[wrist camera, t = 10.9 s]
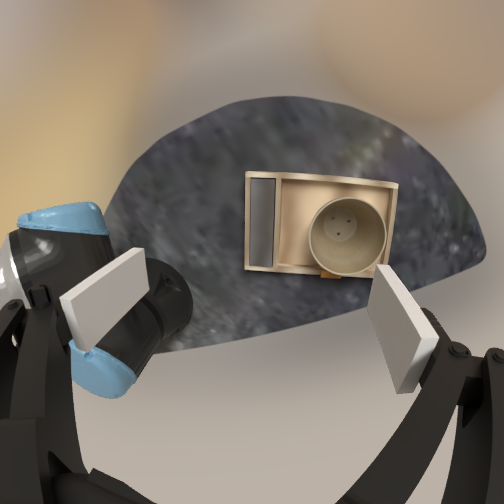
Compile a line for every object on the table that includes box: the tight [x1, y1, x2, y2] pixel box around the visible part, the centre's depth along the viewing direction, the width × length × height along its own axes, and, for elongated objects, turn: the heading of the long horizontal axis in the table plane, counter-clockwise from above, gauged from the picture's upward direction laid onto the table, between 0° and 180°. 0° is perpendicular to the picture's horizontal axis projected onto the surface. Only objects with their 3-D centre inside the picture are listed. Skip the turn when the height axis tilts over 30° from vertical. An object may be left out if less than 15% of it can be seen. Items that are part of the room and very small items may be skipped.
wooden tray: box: [245, 171, 398, 279], centre depth 39 cm, size 22×15×3 cm
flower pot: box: [308, 197, 387, 276], centre depth 35 cm, size 10×10×7 cm
